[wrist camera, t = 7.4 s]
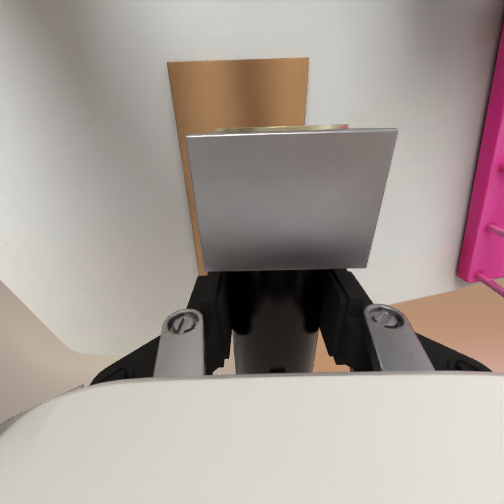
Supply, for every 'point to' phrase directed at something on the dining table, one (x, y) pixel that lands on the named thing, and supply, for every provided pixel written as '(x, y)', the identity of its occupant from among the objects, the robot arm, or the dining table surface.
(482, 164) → the file sorter
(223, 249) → the flashlight
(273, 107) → the wooden board
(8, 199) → the dining table surface
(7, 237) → the dining table surface
